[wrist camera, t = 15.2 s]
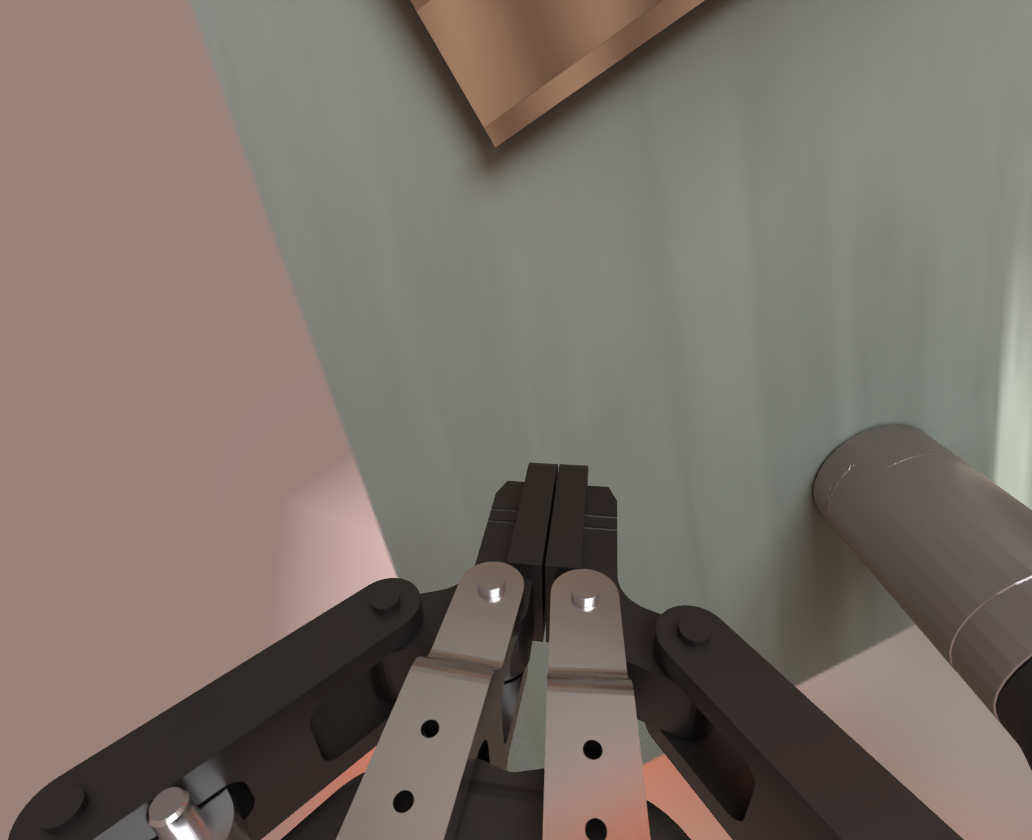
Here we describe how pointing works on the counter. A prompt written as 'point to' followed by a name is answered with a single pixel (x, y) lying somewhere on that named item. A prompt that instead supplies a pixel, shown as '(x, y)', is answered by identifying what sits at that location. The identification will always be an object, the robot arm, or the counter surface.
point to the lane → (536, 49)
